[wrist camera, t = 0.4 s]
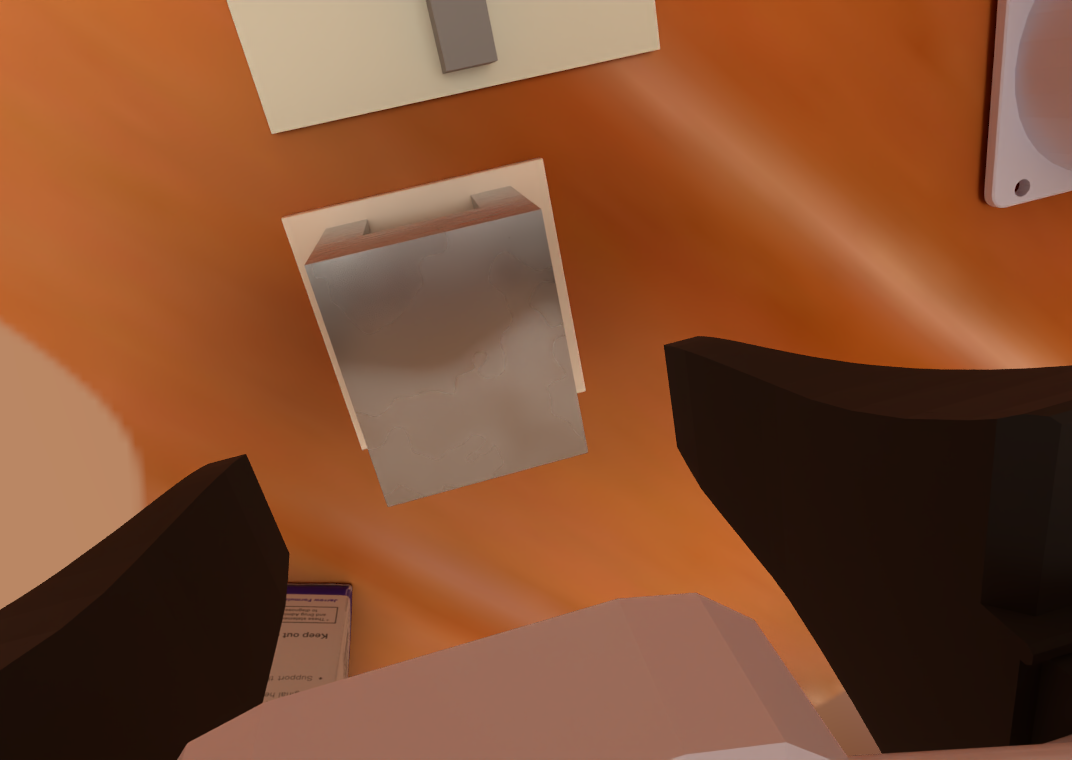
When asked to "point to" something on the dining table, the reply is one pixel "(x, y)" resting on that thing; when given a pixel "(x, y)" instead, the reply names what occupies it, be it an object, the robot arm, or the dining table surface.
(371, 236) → the clip
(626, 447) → the dining table surface
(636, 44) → the rail board
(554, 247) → the pad
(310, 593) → the supplement box
